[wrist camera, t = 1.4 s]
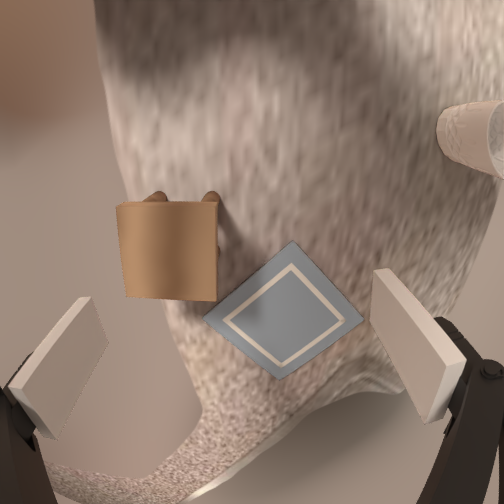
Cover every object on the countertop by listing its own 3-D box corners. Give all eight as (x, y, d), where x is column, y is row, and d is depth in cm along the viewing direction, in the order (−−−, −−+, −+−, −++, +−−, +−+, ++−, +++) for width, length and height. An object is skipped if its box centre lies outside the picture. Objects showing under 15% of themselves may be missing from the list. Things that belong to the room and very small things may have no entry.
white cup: (472, 174, 31) (527, 192, 22) (425, 155, 30) (480, 167, 21) (483, 115, 28) (539, 119, 19) (436, 91, 28) (492, 85, 18)
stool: (152, 258, 34) (126, 296, 26) (148, 187, 32) (115, 206, 23) (223, 260, 35) (216, 301, 26) (224, 187, 32) (215, 206, 23)
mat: (202, 317, 37) (201, 319, 37) (292, 240, 34) (293, 241, 33) (279, 378, 41) (279, 381, 40) (363, 317, 38) (364, 320, 37)
